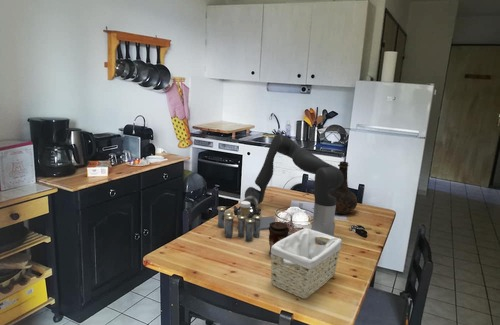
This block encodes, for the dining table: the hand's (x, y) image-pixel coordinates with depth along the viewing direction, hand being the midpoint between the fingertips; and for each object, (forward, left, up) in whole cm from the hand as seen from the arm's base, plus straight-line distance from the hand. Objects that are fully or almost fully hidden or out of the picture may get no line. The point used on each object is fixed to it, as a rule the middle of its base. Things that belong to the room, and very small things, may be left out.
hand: (243, 217), depth 167 cm
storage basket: (-45, -7, -8) cm, 46 cm away
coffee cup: (-25, -5, -7) cm, 26 cm away
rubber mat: (+6, -14, -7) cm, 17 cm away
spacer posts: (-1, +2, -7) cm, 8 cm away
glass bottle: (+13, -61, -8) cm, 63 cm away
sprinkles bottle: (+2, -1, -7) cm, 8 cm away
